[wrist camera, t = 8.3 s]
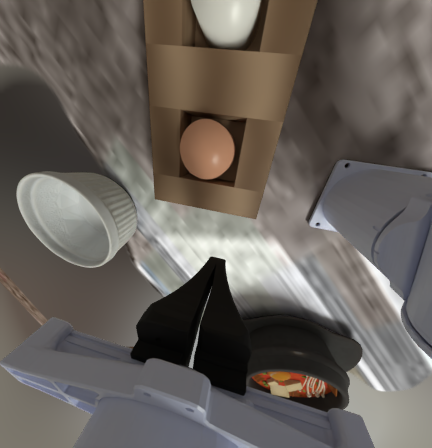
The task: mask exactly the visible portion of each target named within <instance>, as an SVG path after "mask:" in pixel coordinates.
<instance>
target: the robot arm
mask: <svg viewBox="0 0 432 448" xmlns="http://www.w3.org/2000/svg"><path fill="white" fill-rule="evenodd" d="M346 163H348V166H347V167H346V168H345V167H344V166H345V164H346ZM421 175H423V176H421ZM316 223H319V224H318V225H316ZM309 225H310V226H311V227H315V228H320V229H325V230H330V231H335V232H339V233H340V234H341V235H342V236H343V237H344V238H345V239H346V240H348V241H349V242H350V243H351V244H352V245H353V246H354V247H355V248H356V249H357V250H358V251H359V252H360V253H361V254H362V255H363V256H365V257H366V258H367V259H368V260H369V261H370V262H371V263H372V264H373V265H374V266H375V267H376V268H377V269H379V270H380V272H381V273H383V274H384V275H385V276H386V277H387V278H388V279H389V281H390V287H391V288H392V289H393V290H394V291H395V292H396V293H397V294H398V295H399V296H400V297H401V298H402V299H403V300H405V301H404V304H403V306H402V308H401V318H402V322H403V324H404V327H405V329H406V330H407V332H408V333H409V335H410V336H411V338H412V339H413V340H414V341H415V342H416V344H417V345H418V346H419V347H420V348H421V349H422V350H423V351H424V352H425V353H426V354H427V355H428V356H429V357H430V358H432V172H426V171H419V170H412V169H406V168H399V167H392V166H385V165H378V164H371V163H364V162H358V161H351V160H344V159H342V160H339V161H337V162H336V164H335V166H334V168H333V171H332V173H331V175H330V177H329V179H328V181H327V183H326V186H325V188H324V190H323V192H322V194H321V196H320V198H319V201H318V203H317V205H316V207H315V209H314V211H313V214H312V216H311V218H310V220H309ZM225 262H226V261H225V260H224V259H220V258H216V257H210V258H209V260H208V261H207V262H206V264H205V265H204V266H203V267H202V268H201V269H200V271H199V272H198V273H197V274H196V275H195V276H193V277H192V278H191V279H190V280H189V281H188V282H187V283H185V284H184V285H183V286H181V287H180V288H179V289H177V290H176V291H174V292H172V293H171V294H169V295H168V296H166V297H164V298H162V299H160V300H158V301H156V302H154V303H152V304H151V305H150V306H149V307H148V309H147V310H146V311H145V312H144V314H143V315H142V317H141V319H140V320H139V322H138V324H137V325H136V329H137V334H138V341H137V343H136V345H135V346H134V348H133V349H131V348H128V347H125V346H121V345H118V344H115V343H112V342H109V341H106V340H103V339H100V338H97V337H94V336H91V335H88V334H85V333H81V332H78V331H75V330H73V327H72V325H71V324H70V323H69V322H67V321H63V320H61V319H57V318H54V317H53V318H51V319H49V320H48V321H47V322H46V323H45V324H44V325H42V326H41V327H40V328H39V329H38V330H37V331H35V332H34V333H33V334H32V335H31V336H30V337H28V338H27V339H26V340H25V341H24V342H23V343H22V344H20V345H19V346H18V347H17V348H16V349H14V350H13V351H12V352H11V353H10V354H9V355H7V356H6V357H5V358H4V359H3V360H2V361H0V365H1V366H2V367H3V368H5V369H6V370H7V371H8V372H9V373H10V374H11V375H13V376H14V377H15V378H16V379H17V380H19V381H20V382H21V383H23V384H26V385H28V386H31V387H33V388H36V389H38V390H40V391H43V392H45V393H47V394H49V395H52V396H54V397H56V398H58V399H60V400H62V401H65V402H67V403H69V404H71V405H73V406H75V407H78V408H80V409H82V410H84V411H86V412H88V413H90V414H92V416H91V418H90V419H89V421H88V423H87V424H86V426H85V428H84V429H83V431H82V433H81V435H80V436H79V438H78V440H77V441H76V443H75V445H74V447H73V448H375V447H374V445H373V442H372V440H371V438H370V435H369V433H368V431H367V428H366V426H365V423H364V421H363V419H362V417H361V416H360V415H357V414H354V413H351V412H348V411H345V410H342V409H338V408H332V409H330V410H329V411H328V412H324V411H321V410H318V409H315V408H312V407H309V406H306V405H303V404H300V403H297V402H293V401H290V400H287V399H284V398H281V397H278V396H275V395H272V394H269V393H266V392H263V391H260V390H257V389H254V388H250V387H247V386H246V374H247V372H248V362H249V360H250V358H251V356H252V346H251V340H250V335H249V331H248V329H247V328H246V326H245V324H244V322H243V320H242V318H241V317H240V315H239V312H238V310H237V308H236V306H235V303H234V301H233V298H232V295H231V292H230V289H229V285H228V281H227V276H226V268H225ZM211 288H212V289H211ZM210 291H211V292H210ZM209 293H210V295H209ZM208 296H209V299H208ZM207 299H208V302H207V305H206V308H205V311H204V314H203V317H202V313H203V310H204V307H205V304H206V301H207ZM201 317H202V320H201ZM200 320H201V323H200ZM199 324H200V330H199V337H198V344H197V347H196V351H195V355H194V364H193V369H192V368H189V367H188V366H189V362H190V359H191V355H192V351H193V347H194V343H195V339H196V335H197V332H198V328H199Z"/></svg>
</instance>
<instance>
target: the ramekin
mask: <svg viewBox="0 0 432 448" xmlns="http://www.w3.org/2000/svg"><path fill="white" fill-rule="evenodd" d="M17 201H18V206H19V209H20V212H21V214H22V216H23V218H24V220H25V221H26V223H27V225H28V226H29V228H30V229H31V231H32V232H33V233H34V234H35V236H36V237H37V238H38V239H39V240H40V241H41V242H42V243H43V244H44V245H45V246H46V247H47V248H49V249H50V250H51V251H52V252H54V253H55V254H56V255H58V256H60V257H61V258H63V259H65V260H66V261H68V262H70V263H73V264H75V265H79V266H82V267H90V268H92V267H99V266H101V265H103V264H105V263H106V262H108V261H109V260H110V259H111V258H113V257H114V255H115V254H116V252H117V251H118V249H120V248H121V247H122V246H123V245H124V244H125V243H126V242H127V241H128V240H129V239H130V238H131V237H132V236H133V234H134V233H135V230H136V227H137V212H136V208H135V206H134V203H133V201H132V200H131V198H130V197H129V195H128V194H127V193H126V191H125V190H124V189H123V188H122V187H120V186H119V185H118V184H117V183H115V182H114V181H112V180H111V179H109V178H107V177H105V176H102V175H99V174H96V173H88V172H87V173H86V172H78V173H77V172H76V173H59V172H53V171H44V172H37V173H32V174H29V175H27V176H25V177H23V178H22V179H21V181H20V182H19V184H18V187H17Z"/></svg>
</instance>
